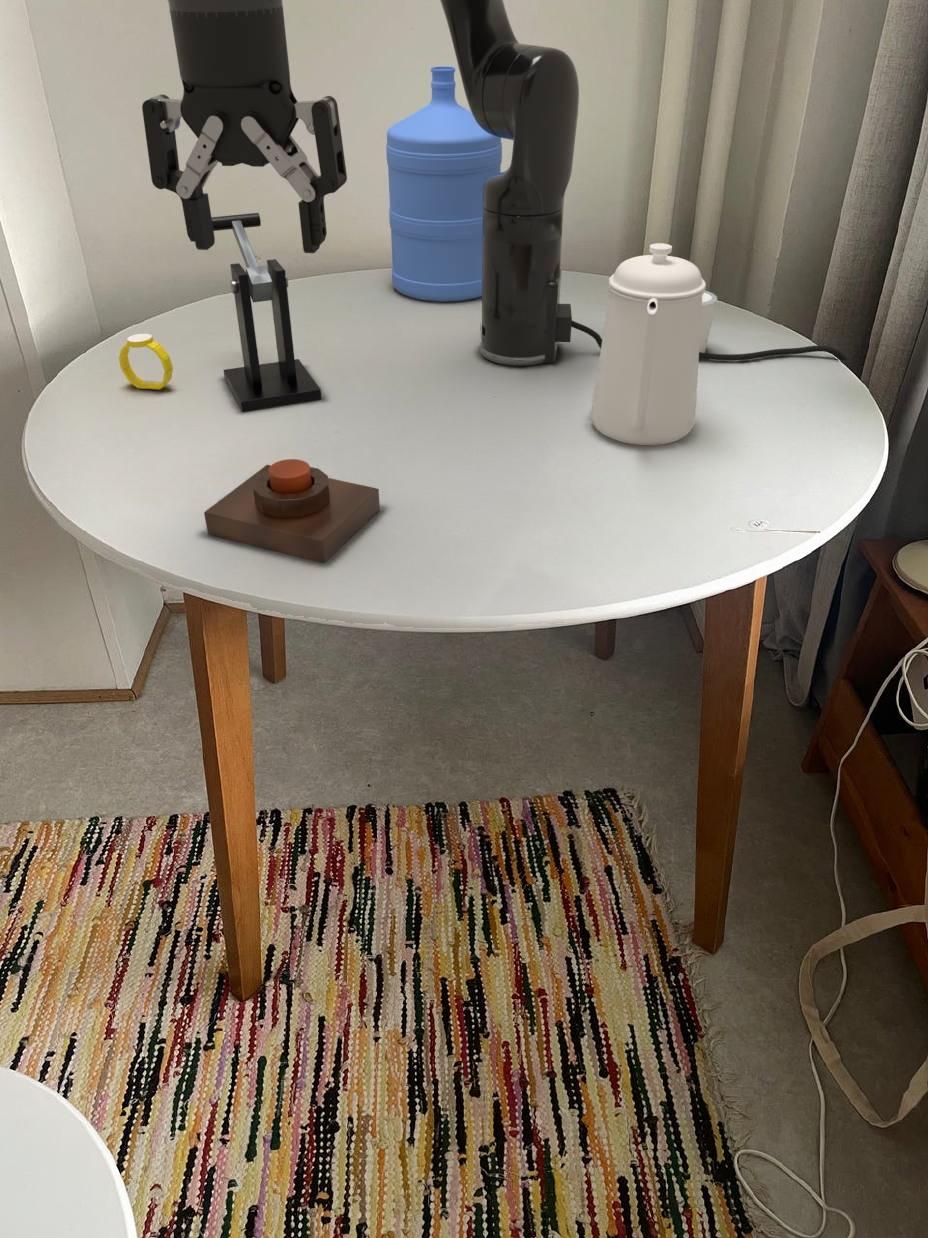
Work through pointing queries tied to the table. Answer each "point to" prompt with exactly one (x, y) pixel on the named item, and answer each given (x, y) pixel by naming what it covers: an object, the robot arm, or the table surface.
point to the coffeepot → (650, 350)
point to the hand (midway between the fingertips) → (258, 248)
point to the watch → (148, 341)
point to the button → (290, 476)
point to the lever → (248, 253)
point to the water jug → (439, 196)
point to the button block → (294, 515)
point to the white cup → (706, 318)
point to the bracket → (288, 375)
